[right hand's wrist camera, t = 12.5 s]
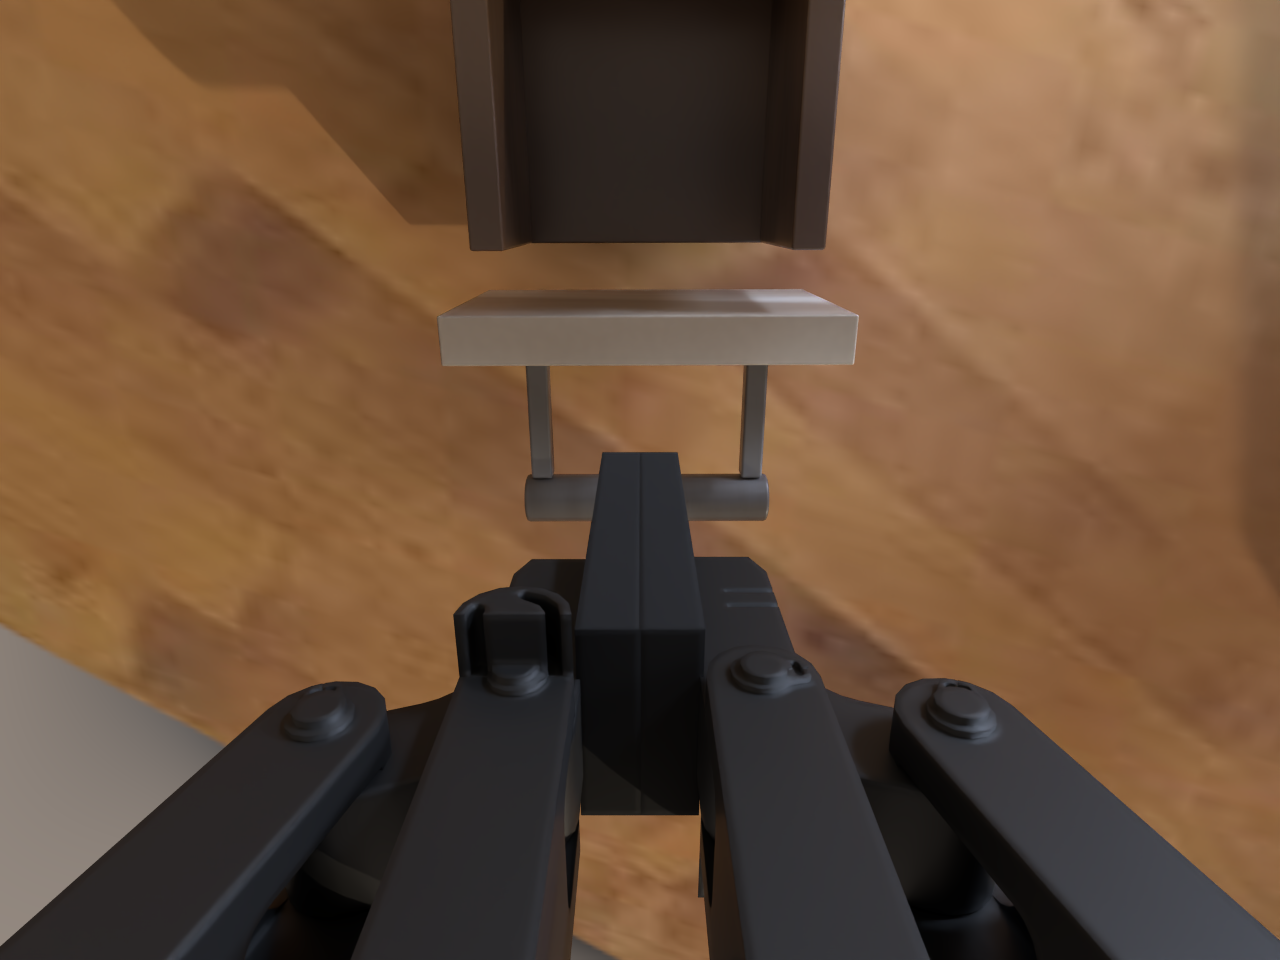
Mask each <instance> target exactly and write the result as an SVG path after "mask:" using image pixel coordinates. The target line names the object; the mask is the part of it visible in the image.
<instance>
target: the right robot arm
mask: <svg viewBox="0 0 1280 960" xmlns="http://www.w3.org/2000/svg"><path fill="white" fill-rule="evenodd" d="M453 617H454V627H455V637H456V646H457V656H458V666H459V676H460V677H459V680H458V682H457V685H456V688H455V690H454V692H453V693H451V694H448V695H446V696H444V697H442V698H439V699H436V700H433V701H429V702H425V703H422V704H418V705H413V706H408V707H403V708H398V709H394V710H389V711H387V710H386V704H385V698H384V697H383V696H382V695H381V694H380V693H379V692H378V691H377V690H376V688H374V687H371V686H368V685H365V684H362V683H359V682H337V681H336V682H330V683H325V684H319V685H314V686H311V687H308V688H306V689H303V690H301V691H298V692H296V693H293V694H291V695H288V696H287V697H285V698H284V699H282V700H281V701H279V702H278V703H276V704H275V705H273V706H272V707H271V708H269V709H268V710H267V711H265V712H264V713H263V714H262V715H261V716H260V717H259V718H258V719H256V720H255V721H254V722H253V723H252V724H251V725H250V726H248V727H247V728H246V729H245V730H244V731H243V732H242V733H241V734H239V735H238V736H237V737H236V738H235V739H234V740H233V741H232V742H230V743H229V744H228V745H227V746H226V747H225V748H224V749H223V750H221V751H220V752H219V753H218V754H217V755H216V756H215V757H214V758H212V759H211V760H210V761H209V762H208V763H207V764H206V765H204V766H203V767H202V768H201V769H200V770H199V771H198V772H197V773H196V774H194V775H193V776H192V777H191V778H190V779H189V780H188V781H186V782H185V783H184V784H183V785H182V786H181V787H180V788H179V789H177V790H176V791H175V792H174V793H173V794H172V795H171V796H170V797H168V798H167V799H166V800H165V801H164V802H163V803H162V804H160V805H159V806H158V807H157V808H156V809H155V810H154V811H153V812H151V813H150V814H149V815H148V816H147V817H146V818H145V819H144V820H142V821H141V822H140V823H139V824H138V825H137V826H136V827H134V828H133V829H132V830H131V831H130V832H129V833H128V834H127V835H125V836H124V837H123V838H122V839H121V840H120V841H119V842H118V843H116V844H115V845H114V846H113V847H112V848H111V849H110V850H109V851H107V852H106V853H105V854H104V855H103V856H102V857H101V858H100V859H98V860H97V861H96V862H95V863H94V864H93V865H92V866H90V867H89V868H88V869H87V870H86V871H85V872H84V873H83V874H81V875H80V876H79V877H78V878H77V879H76V880H75V881H74V882H72V883H71V884H70V885H69V886H68V887H67V888H66V889H65V890H63V891H62V892H61V893H60V894H59V895H58V896H57V897H56V898H54V899H53V900H52V901H51V902H50V903H49V904H48V905H47V906H45V907H44V908H43V909H42V910H41V911H40V912H39V913H37V914H36V915H35V916H34V917H33V918H32V919H31V920H30V921H28V922H27V923H26V924H25V925H24V926H23V927H22V928H20V929H19V930H18V931H17V932H16V933H15V934H14V935H13V936H11V937H10V938H9V939H8V940H7V941H6V942H5V943H4V944H3V945H1V946H0V960H570V957H571V946H572V935H573V924H574V913H575V902H576V891H577V880H578V869H579V858H580V832H579V813H580V803H581V815H699V800H700V809H701V832H700V859H699V885H698V897H704V901H705V912H706V923H707V934H708V945H709V956H710V960H1280V940H1279V939H1277V938H1276V937H1275V936H1274V935H1273V934H1272V933H1271V932H1269V931H1268V930H1267V929H1266V928H1265V927H1264V926H1263V925H1262V924H1260V923H1259V922H1258V921H1257V920H1256V919H1255V918H1254V917H1252V916H1251V915H1250V914H1249V913H1248V912H1247V911H1246V910H1244V909H1243V908H1242V907H1241V906H1240V905H1239V904H1238V903H1236V902H1235V901H1234V900H1233V899H1232V898H1231V897H1230V896H1229V895H1227V894H1226V893H1225V892H1224V891H1223V890H1222V889H1221V888H1219V887H1218V886H1217V885H1216V884H1215V883H1214V882H1213V881H1211V880H1210V879H1209V878H1208V877H1207V876H1206V875H1205V874H1203V873H1202V872H1201V871H1200V870H1199V869H1198V868H1197V867H1196V866H1194V865H1193V864H1192V863H1191V862H1190V861H1189V860H1188V859H1186V858H1185V857H1184V856H1183V855H1182V854H1181V853H1180V852H1178V851H1177V850H1176V849H1175V848H1174V847H1173V846H1172V845H1170V844H1169V843H1168V842H1167V841H1166V840H1165V839H1164V838H1163V837H1161V836H1160V835H1159V834H1158V833H1157V832H1156V831H1155V830H1153V829H1152V828H1151V827H1150V826H1149V825H1148V824H1147V823H1145V822H1144V821H1143V820H1142V819H1141V818H1140V817H1139V816H1137V815H1136V814H1135V813H1134V812H1133V811H1132V810H1131V809H1130V808H1128V807H1127V806H1126V805H1125V804H1124V803H1123V802H1122V801H1120V800H1119V799H1118V798H1117V797H1116V796H1115V795H1114V794H1112V793H1111V792H1110V791H1109V790H1108V789H1107V788H1106V787H1104V786H1103V785H1102V784H1101V783H1100V782H1099V781H1098V780H1097V779H1095V778H1094V777H1093V776H1092V775H1091V774H1090V773H1089V772H1087V771H1086V770H1085V769H1084V768H1083V767H1082V766H1081V765H1079V764H1078V763H1077V762H1076V761H1075V760H1074V759H1073V758H1072V757H1070V756H1069V755H1068V754H1067V753H1066V752H1065V751H1064V750H1062V749H1061V748H1060V747H1059V746H1058V745H1057V744H1056V743H1054V742H1053V741H1052V740H1051V739H1050V738H1049V737H1048V736H1046V735H1045V734H1044V733H1043V732H1042V731H1041V730H1040V729H1039V728H1037V727H1036V726H1035V725H1034V724H1033V723H1032V722H1031V721H1029V720H1028V719H1027V718H1026V717H1025V716H1024V715H1023V714H1021V713H1020V712H1019V711H1018V710H1017V709H1016V708H1015V707H1013V706H1012V705H1011V704H1009V703H1008V702H1006V701H1005V700H1003V699H1002V698H1000V697H999V696H997V695H996V694H994V693H993V692H990V691H988V690H985V689H983V688H981V687H978V686H976V685H973V684H971V683H967V682H963V681H959V680H958V681H957V680H953V679H946V678H934V679H921V680H918V681H915V682H912V683H909V684H906V685H905V686H904V687H903V688H902V689H901V690H900V691H899V692H898V693H897V694H896V697H895V704H894V708H892V707H887V706H882V705H877V704H873V703H868V702H863V701H858V700H855V699H851V698H848V697H844V696H841V695H839V694H836V693H834V692H832V691H830V690H827V689H825V687H824V684H823V681H822V679H821V676H820V675H819V673H818V672H817V671H816V669H815V668H814V666H813V665H812V664H811V663H810V662H808V661H807V660H805V659H804V658H802V657H801V656H799V655H798V654H796V653H795V652H794V649H793V646H792V643H791V641H790V638H789V635H788V632H787V629H786V626H785V624H784V621H783V618H782V615H781V612H780V609H779V607H777V601H776V598H775V595H774V592H772V587H771V584H770V581H769V578H768V575H767V573H766V571H765V570H763V569H762V568H761V567H760V566H759V565H757V564H756V563H755V562H754V561H752V560H751V559H750V558H749V557H694V554H693V548H692V541H691V535H690V529H689V522H688V516H687V510H686V503H685V497H684V491H683V484H682V478H681V472H680V465H679V459H678V453H677V452H603V453H602V459H601V465H600V472H599V478H598V484H597V491H596V497H595V503H594V510H593V516H592V522H591V529H590V535H589V541H588V548H587V554H586V559H532V560H530V561H529V562H528V563H527V564H526V565H524V566H523V567H522V568H521V569H520V570H518V571H517V572H516V573H515V574H514V576H513V578H512V581H511V584H510V587H506V588H498V589H495V590H491V591H488V592H485V593H481V594H478V595H477V596H475V597H473V598H471V599H470V600H468V601H466V602H464V603H463V604H462V605H461V606H460V607H459V608H458V610H457V611H456V612H455V613H454V614H453Z"/></svg>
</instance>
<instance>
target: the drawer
mask: <svg viewBox="0 0 1280 960" xmlns="http://www.w3.org/2000/svg"><path fill="white" fill-rule="evenodd" d="M845 2H846V0H450V7H451V19H452V32H453V44H454V56H455V69H456V81H457V94H458V106H459V119H460V131H461V143H462V156H463V168H464V181H465V193H466V206H467V218H468V231H469V243H470V250H472V251H503V250H507V249H511V248H514V247H518V246H522V245H526V244H529V243H729V242H762V243H766V244H771V245H775V246H779V247H784V248H788V249H792V250H823V249H825V247H826V235H827V222H828V210H829V198H830V186H831V173H832V161H833V149H834V137H835V125H836V112H837V100H838V88H839V76H840V63H841V51H842V39H843V27H844V14H845ZM858 318H859V316H858V315H857V314H855V313H852V312H850V311H848V310H846V309H844V308H842V307H839V306H837V305H835V304H833V303H831V302H829V301H826V300H824V299H822V298H820V297H818V296H816V295H814V294H811V293H809V292H807V291H805V290H803V289H693V290H489V291H487V292H485V293H483V294H481V295H479V296H477V297H475V298H473V299H471V300H469V301H467V302H465V303H463V304H461V305H459V306H457V307H455V308H453V309H451V310H449V311H447V312H445V313H443V314H441V315H439V316H437V323H438V333H439V343H440V353H441V364H442V366H526V379H527V396H528V413H529V431H530V448H531V465H532V474H530V475H528V477H527V479H526V484H525V512H526V517H527V519H528V520H529V521H592V516H593V510H594V503H595V497H596V491H597V484H598V478H599V474H553V473H554V452H553V431H552V409H551V388H550V366H639V365H744V373H743V395H742V416H741V437H740V458H739V472H740V474H681V478H682V484H683V491H684V497H685V503H686V510H687V516H688V521H763V520H766V518H767V515H768V510H769V486H768V480H767V477H766V475H765V474H762V458H763V441H764V424H765V407H766V390H767V373H768V365H853V364H854V358H855V348H856V338H857V328H858Z"/></svg>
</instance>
